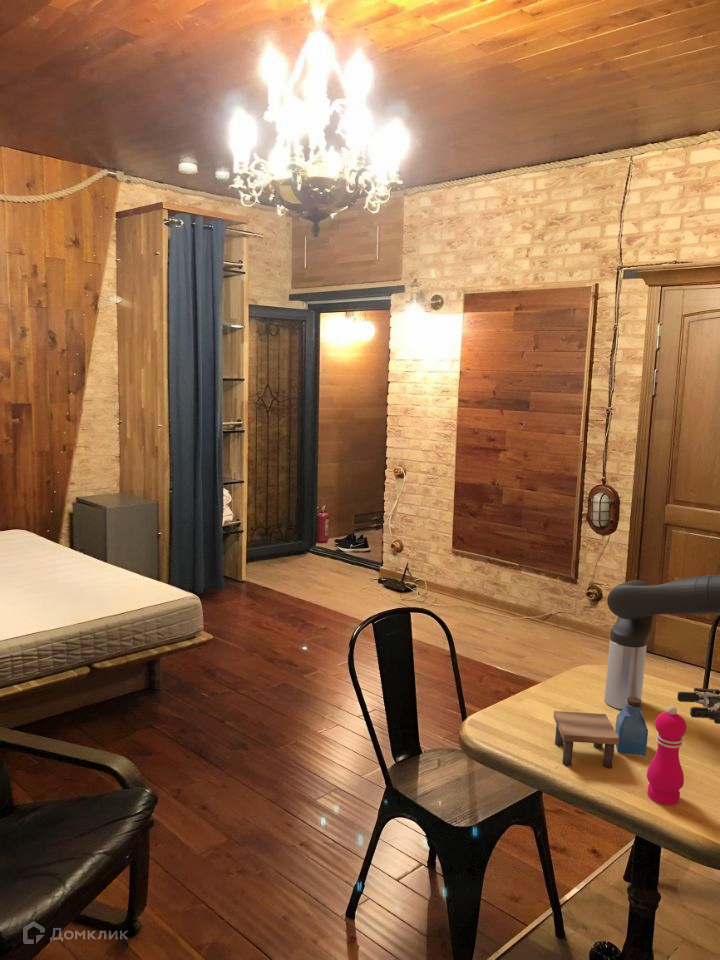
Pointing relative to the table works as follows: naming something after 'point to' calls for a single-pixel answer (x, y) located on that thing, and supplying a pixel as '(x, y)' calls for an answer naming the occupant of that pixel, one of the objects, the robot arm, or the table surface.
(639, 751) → the perfume bottle
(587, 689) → the table surface
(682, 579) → the robot arm
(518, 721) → the table surface
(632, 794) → the table surface
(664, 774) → the pepper mill
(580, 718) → the brown legged piece
